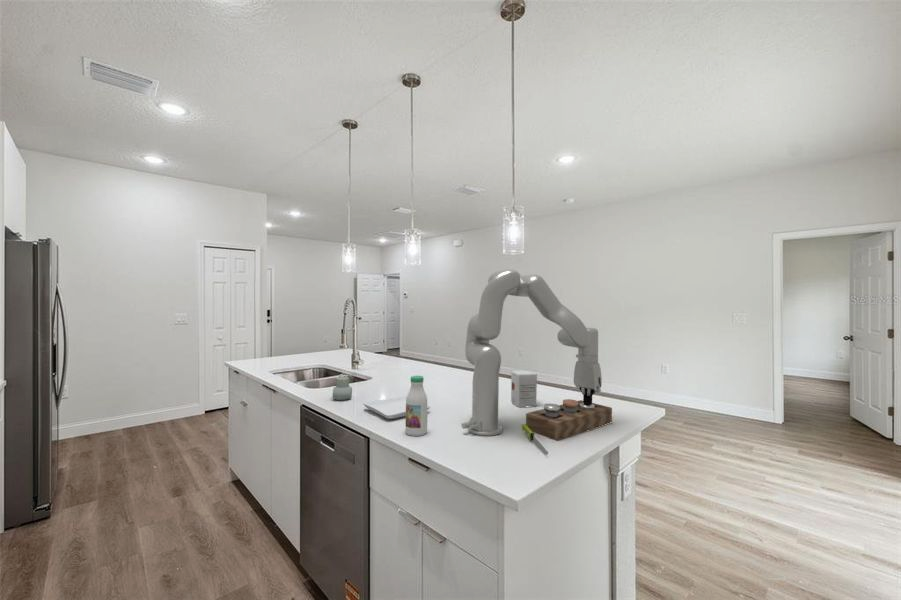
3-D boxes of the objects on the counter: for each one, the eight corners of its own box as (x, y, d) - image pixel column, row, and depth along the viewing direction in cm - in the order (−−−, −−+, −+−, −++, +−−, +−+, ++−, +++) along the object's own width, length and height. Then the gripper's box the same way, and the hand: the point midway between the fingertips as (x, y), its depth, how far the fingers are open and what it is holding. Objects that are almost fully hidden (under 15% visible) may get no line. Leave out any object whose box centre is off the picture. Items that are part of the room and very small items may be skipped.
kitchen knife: (550, 461, 116) (550, 452, 116) (546, 461, 116) (546, 452, 115) (524, 431, 138) (525, 423, 138) (521, 431, 138) (521, 423, 137)
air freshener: (350, 401, 178) (350, 380, 178) (332, 402, 176) (332, 380, 176) (352, 395, 188) (352, 375, 188) (334, 396, 187) (335, 375, 187)
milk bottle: (417, 427, 142) (418, 373, 142) (431, 433, 136) (432, 376, 137) (401, 432, 137) (401, 376, 137) (414, 438, 131) (415, 379, 131)
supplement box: (510, 402, 179) (510, 370, 179) (528, 401, 181) (528, 370, 181) (518, 408, 170) (518, 374, 170) (536, 407, 172) (537, 373, 172)
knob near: (553, 425, 136) (553, 408, 136) (540, 421, 140) (540, 405, 140) (562, 422, 139) (563, 406, 139) (550, 418, 143) (550, 402, 143)
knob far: (589, 422, 149) (589, 407, 149) (576, 419, 153) (576, 404, 153) (597, 420, 152) (597, 405, 152) (585, 416, 157) (585, 402, 157)
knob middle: (572, 420, 142) (572, 403, 142) (559, 416, 147) (559, 400, 147) (581, 417, 146) (581, 401, 146) (568, 413, 150) (568, 398, 150)
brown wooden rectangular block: (557, 440, 130) (557, 423, 130) (525, 429, 142) (526, 413, 142) (611, 422, 151) (611, 407, 151) (580, 414, 162) (580, 400, 162)
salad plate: (431, 413, 161) (431, 405, 161) (387, 423, 147) (388, 414, 147) (404, 403, 177) (404, 395, 177) (362, 411, 164) (362, 403, 164)
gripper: (566, 357, 157) (566, 402, 157) (599, 362, 145) (599, 410, 145) (577, 355, 161) (577, 399, 161) (610, 360, 149) (610, 407, 149)
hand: (587, 404), depth 153 cm, fingers closed
